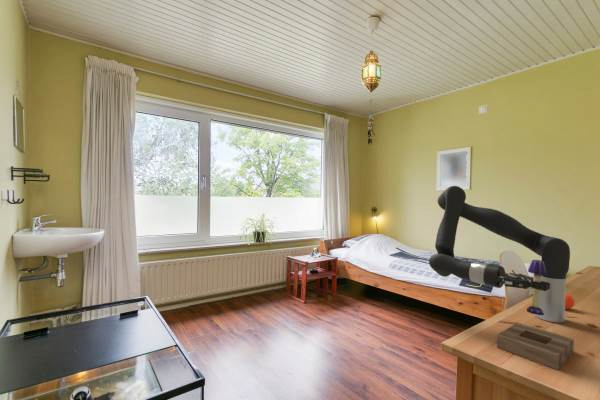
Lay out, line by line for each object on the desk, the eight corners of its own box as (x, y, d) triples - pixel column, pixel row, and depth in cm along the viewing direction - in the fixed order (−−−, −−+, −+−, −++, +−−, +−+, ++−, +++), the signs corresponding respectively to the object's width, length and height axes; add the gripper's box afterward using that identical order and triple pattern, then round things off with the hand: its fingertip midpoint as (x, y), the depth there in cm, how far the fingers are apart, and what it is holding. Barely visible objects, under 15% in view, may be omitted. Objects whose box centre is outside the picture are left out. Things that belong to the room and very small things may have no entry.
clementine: (553, 304, 139) (553, 289, 139) (573, 307, 134) (573, 292, 134) (553, 308, 133) (554, 292, 133) (574, 312, 128) (575, 296, 128)
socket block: (516, 333, 105) (517, 322, 105) (573, 351, 93) (573, 339, 93) (496, 347, 94) (497, 334, 94) (557, 369, 82) (558, 355, 82)
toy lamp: (547, 316, 90) (550, 262, 91) (530, 314, 91) (533, 260, 92) (538, 311, 95) (541, 259, 95) (522, 309, 96) (525, 258, 96)
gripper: (478, 265, 101) (542, 277, 87) (494, 261, 109) (555, 272, 95) (477, 287, 101) (541, 303, 87) (494, 282, 109) (554, 295, 95)
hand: (548, 287), depth 91 cm, fingers closed on toy lamp
